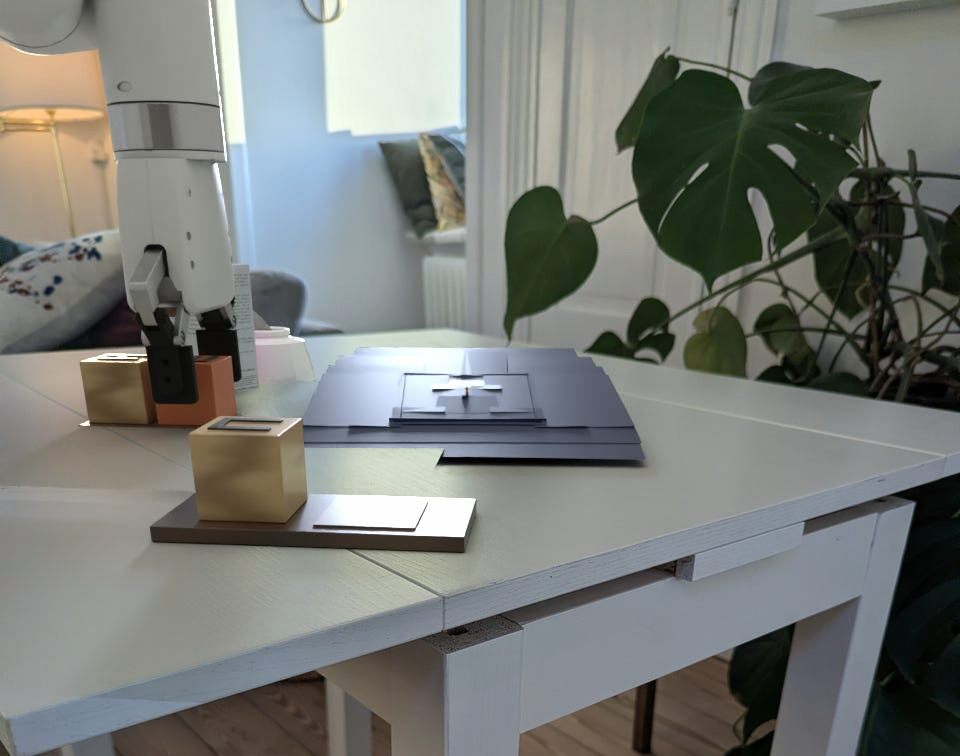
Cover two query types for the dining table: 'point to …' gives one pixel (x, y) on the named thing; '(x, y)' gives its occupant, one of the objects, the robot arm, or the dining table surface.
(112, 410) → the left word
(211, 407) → the orange embossed-top cube
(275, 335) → the white piece
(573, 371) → the grey stepped plate
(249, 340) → the supplement box
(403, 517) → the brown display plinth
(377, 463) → the dining table surface
